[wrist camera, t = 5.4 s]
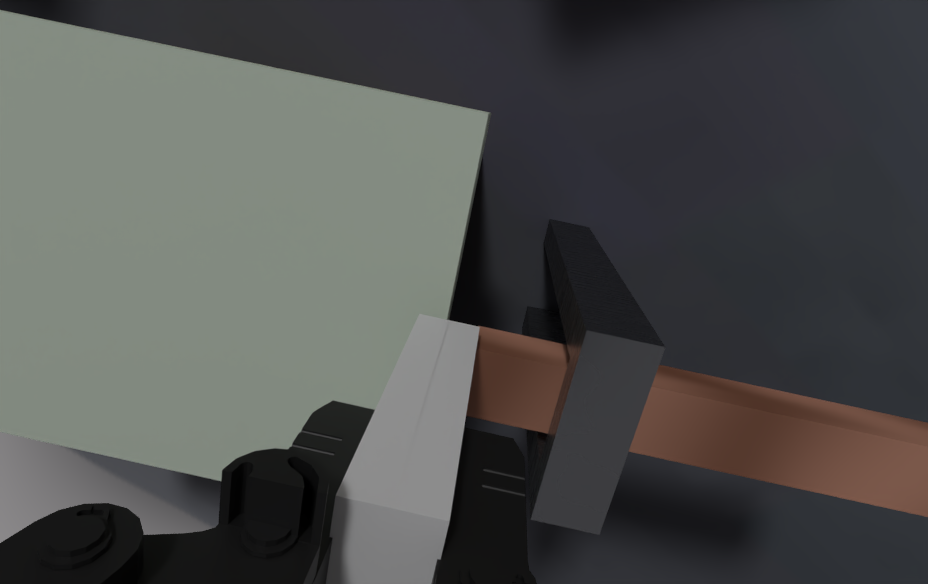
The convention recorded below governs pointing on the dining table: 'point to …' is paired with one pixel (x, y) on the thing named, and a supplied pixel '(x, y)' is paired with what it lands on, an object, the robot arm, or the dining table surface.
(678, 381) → the brown flat bar
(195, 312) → the lid
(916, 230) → the dining table surface
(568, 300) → the keeper
